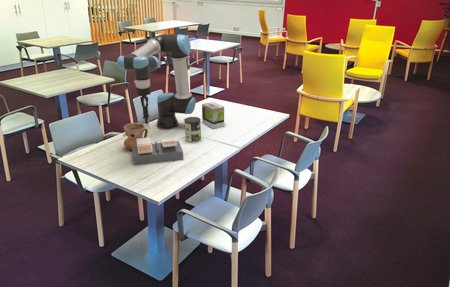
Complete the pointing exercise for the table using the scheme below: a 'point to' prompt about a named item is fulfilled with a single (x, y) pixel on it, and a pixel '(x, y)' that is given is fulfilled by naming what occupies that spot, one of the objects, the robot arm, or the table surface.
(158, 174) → the table surface
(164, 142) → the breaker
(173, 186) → the table surface
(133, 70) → the robot arm
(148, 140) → the breaker
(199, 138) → the coffee can
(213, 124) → the tea box
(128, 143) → the ceramic jug
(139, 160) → the breaker panel
